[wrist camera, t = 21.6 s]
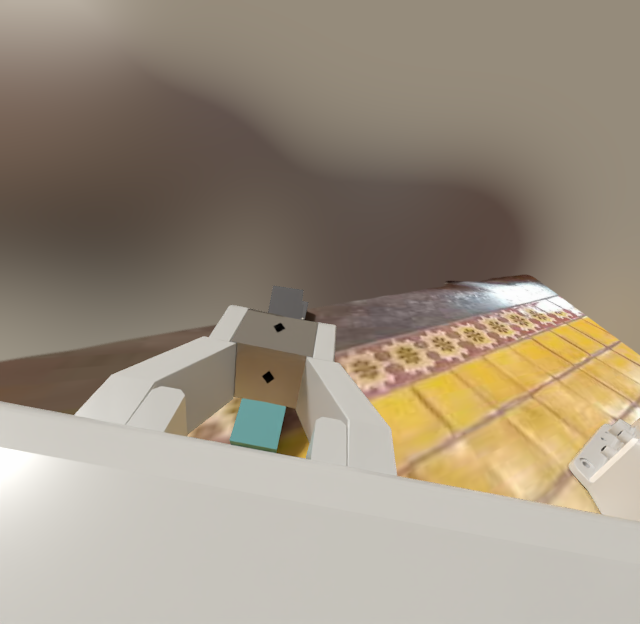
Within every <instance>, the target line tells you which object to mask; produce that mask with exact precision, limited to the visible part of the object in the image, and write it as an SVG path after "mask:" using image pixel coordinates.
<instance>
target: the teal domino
mask: <svg viewBox="0 0 640 624" xmlns="http://www.w3.org/2000/svg"><path fill="white" fill-rule="evenodd" d="M285 409H286V406H281V405H276V404H272V403H267V402H262V401H256V400H250V399H244V398H242V401H241V404H240V407H239V411H238V414H237V417H236V421H235V424H234V427H233V431H232V434H231V437H230V443H231V445H236V446H241V447H246V448H251V449H257V450H262V451H267V452H273V453H276V452H277V447H278V442H279V437H280V433H281V428H282V423H283V419H284V414H285Z"/></svg>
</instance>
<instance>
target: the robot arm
mask: <svg viewBox="0 0 640 624" xmlns="http://www.w3.org/2000/svg"><path fill="white" fill-rule="evenodd" d="M335 341H336V326H335V325H331V324H325V323H319V322H318V323H317V322H312V321H306V320H300V319H295V318H289V317H284V316H281V315H277V314H272V313H268V312H263V311H259V310H254V309H249V308H245V307H240V306H235V305H231V306H229V307H228V309H227V310H226V312H225V313H224V315H223V317H222V318H221V319H220V321H219V323H218V324H217V326H216V327H215V329H214V330H213V332H212V333H211V335H210V336H209V337H204V336H203V337H201V338H199V339H196V340H194V341H191V342H189V343H187V344H184V345H182V346H179V347H177V348H175V349H172V350H170V351H167V352H165V353H163V354H160V355H158V356H155V357H153V358H151V359H148V360H146V361H143V362H141V363H139V364H136V365H134V366H131V367H129V368H127V369H124V370H122V371H119V372H117V373H115V374H112V375H111V376H110V377H109V378H108V379H107V380H106V381H105V383H104V384H103V385H102V386H101V387H100V388H99V389H98V390H97V391H96V392H95V393H94V394H93V395H92V396H91V397H90V399H89V400H88V401H87V402H86V403H85V404H84V405H83V406H82V407H81V408H80V409H79V410H78V411H77V412H76V414H75V415H70V414H64V413H59V412H54V411H48V410H43V409H38V408H32V407H27V406H22V405H16V404H11V403H6V402H0V624H640V418H639V419H638V420H637V421H636V422H635V423H633V424H632V425H630V424H628V423H626V422H625V421H623V420H620V419H618V420H617V421H616V422H615V423H614V424H613V425H609V424H604V425H602V426H601V427H600V428H599V429H598V430H597V431H596V432H595V433H594V435H593V436H592V437H591V438H590V439H589V441H588V442H587V443H586V444H585V445H584V447H583V448H582V449H581V450H580V451H579V453H578V454H577V455H576V456H575V457H574V459H573V460H572V461H571V462H570V463H569V469H570V470H571V472H572V473H573V474H574V476H575V477H576V478H577V479H578V480H579V481H580V482H581V484H582V485H583V486H584V487H585V488H586V489H587V490H588V492H589V493H590V495H591V496H592V498H593V500H594V502H595V503H596V505H597V507H598V508H599V510H600V512H601V513H602V514H598V513H592V512H587V511H582V510H576V509H571V508H566V507H560V506H555V505H550V504H544V503H539V502H534V501H528V500H523V499H518V498H512V497H507V496H502V495H496V494H491V493H486V492H480V491H475V490H470V489H464V488H459V487H454V486H448V485H443V484H438V483H432V482H427V481H421V480H416V479H411V478H405V477H400V476H397V472H396V464H395V456H394V449H393V441H392V433H391V428H390V427H389V426H388V424H387V423H386V422H385V421H384V419H383V418H382V417H381V415H380V414H379V413H378V412H377V410H376V409H375V408H374V407H373V405H372V404H371V403H370V401H369V400H368V399H367V398H366V396H365V395H364V394H363V393H362V391H361V390H360V389H359V387H358V386H357V385H356V384H355V382H354V381H353V380H352V379H351V377H350V376H349V375H348V373H347V372H346V371H345V370H344V368H343V367H342V366H341V365H340V363H336V362H334V357H335ZM233 397H238V398H244V399H250V400H256V401H262V402H267V403H272V404H276V405H281V406H286V407H290V408H295V409H296V412H297V415H298V417H299V419H300V422H301V424H302V426H303V429H304V431H305V433H306V436H307V438H308V441H309V443H310V444H309V448H308V452H307V456H306V459H305V458H299V457H294V456H289V455H283V454H278V453H273V452H267V451H262V450H257V449H251V448H246V447H241V446H235V445H230V444H225V443H219V442H214V441H209V440H203V439H198V438H193V437H187V435H188V434H189V433H190V432H191V431H193V430H194V429H195V428H197V427H198V426H199V425H200V424H202V423H203V422H204V421H205V420H207V419H208V418H209V417H211V416H212V415H213V414H214V413H216V412H217V411H218V410H219V409H221V408H222V407H223V406H224V405H226V404H227V403H228V402H230V401H231V400H232V399H233Z"/></svg>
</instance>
